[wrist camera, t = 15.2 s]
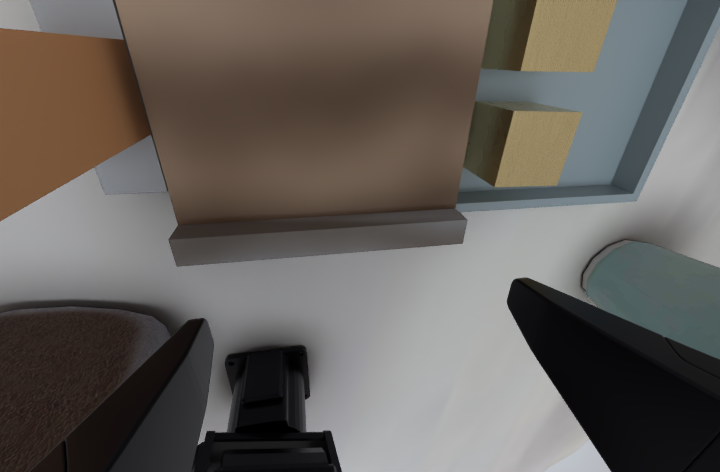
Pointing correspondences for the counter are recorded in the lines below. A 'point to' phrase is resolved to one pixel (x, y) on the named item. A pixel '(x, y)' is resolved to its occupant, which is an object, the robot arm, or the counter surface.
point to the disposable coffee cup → (659, 292)
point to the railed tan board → (308, 121)
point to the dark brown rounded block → (63, 372)
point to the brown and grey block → (72, 106)
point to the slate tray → (608, 105)
